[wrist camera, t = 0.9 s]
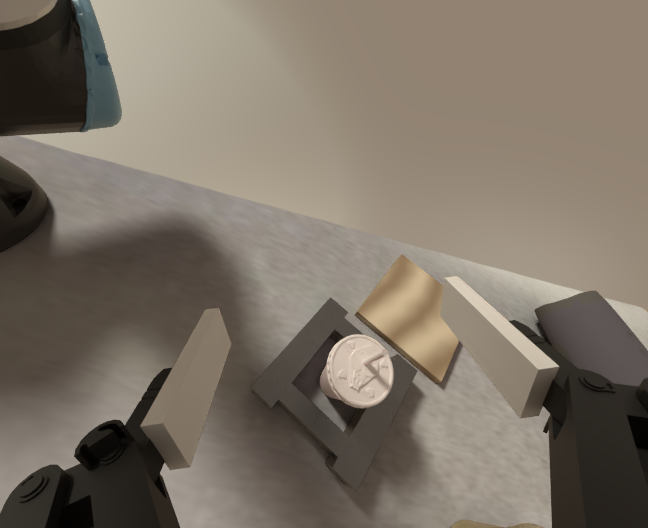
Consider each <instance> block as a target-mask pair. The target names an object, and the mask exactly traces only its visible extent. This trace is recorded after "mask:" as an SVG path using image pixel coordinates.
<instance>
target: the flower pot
mask: <svg viewBox="0 0 648 528" xmlns="http://www.w3.org/2000/svg"><path fill="white" fill-rule="evenodd" d="M451 528H505V527H499V526H494V525H488V524H483V523H478V522H473V521H469V520H461V521H458V522H456V523H455V524H454V525H453V526H452V527H451ZM507 528H544V527H541V526H539V525H535V524H529V523H524V524H519V525H516V526H511V527H507Z"/></svg>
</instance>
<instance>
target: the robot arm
mask: <svg viewBox="0 0 648 528" xmlns="http://www.w3.org/2000/svg"><path fill="white" fill-rule="evenodd" d="M121 116H122V110H121V104H120V99H119V95H118V90H117V86H116V83H115V79H114V75H113V72H112V68H111V65H110V63H109V61H108V55H107V52H106V49H105V44H104V41H103V37H102V34H101V31H100V28H99V25H98V22H97V19H96V16H95V13H94V10H93V8H92V5H91V2H90V0H0V136H14V135H30V134H47V133H65V132H86V131H88V130H91V129H98V128H106V127H112V126H114V125H116V124H118V123H119V121H120V119H121ZM46 210H47V197H46V194H45V192H44V191H43V189H42V188H41V187H40V186H39V185H38V184H37V183H36V181H35V180H34V179H33V178H32V177H31V176H30V175H29V174H28V173H27V172H25V171H24V170H23V169H21V168H19V167H18V166H16V165H14V164H13V163H11V162H10V161H8V160H6V159H5V158H3V157H1V156H0V251H2V250H5V249H7V248H9V247H10V246H12V245H14V244H16V243H17V242H19V241H20V240H22V239H23V238H25V237H26V236H27V235H29V234H30V233H31V232H32V231H33V230H34V229H35V228H36V227H37V226H38V225H39V223H40V222H41V221H42V219H43V217H44V215H45V213H46ZM440 316H441V318H442V319H443V320H444V322H445V323H446V324H447V325H448V327H449V328H450V329H451V331H452V332H453V333H454V334H455V336H456V337H457V338H458V340H459V341H460V342H461V343H462V345H463V346H464V347H465V348H466V350H467V351H468V352H469V354H470V355H471V356H472V357H473V359H474V360H475V361H476V363H477V364H478V365H479V366H480V368H481V369H482V370H483V372H484V373H485V374H486V375H487V377H488V378H489V379H490V381H491V382H492V383H493V384H494V386H495V387H496V388H497V390H498V391H499V392H500V393H501V395H502V396H503V397H504V398H505V400H506V401H507V402H508V404H509V405H510V406H511V407H512V409H513V410H514V411H515V413H516V414H517V415H518V416H519V418H526V417H533V416H539V414H540V411H541V409H542V407H543V406H544V407H545V408H546V409H547V411H548V412H549V413H550V416H549V418H548V421H547V423H546V425H545V427H544V430H543V432H545V433H547V432H548V429H549V450H550V479H551V508H552V528H648V378H645V379H643V381H642V382H641V384H640V385H639V386H631V385H623V384H615V383H612V382H611V381H610V380H609V379H607V378H605V377H603V376H602V375H600V374H597V373H595V372H592V371H589V370H584V369H578V368H577V367H576V366H574V365H573V364H572V363H571V362H570V361H568V360H567V359H566V358H565V357H564V356H562V355H561V354H560V353H559V352H558V351H556V350H555V349H554V348H553V347H552V346H550V345H549V344H548V343H546V342H545V341H544V340H543V339H542V338H541V337H540V336H538V335H537V334H536V333H535V332H534V331H532V330H531V329H530V328H529V327H528V326H526V325H524V324H522V323H520V322H518V321H516V320H512V321H507V320H506V319H505V318H504V317H503V316H502V315H501V314H500V313H498V312H497V311H496V310H495V309H494V308H493V307H492V306H491V305H489V304H488V303H487V302H486V301H485V300H484V299H483V298H481V297H480V296H479V295H478V294H477V293H476V292H475V291H474V290H472V289H471V288H470V287H469V286H468V285H467V284H466V283H465V282H463V281H462V280H461V279H460V278H459V277H458V276H455V277H447V278H444V286H443V295H442V303H441V311H440ZM230 347H231V341H230V338H229V335H228V333H227V330H226V327H225V324H224V321H223V318H222V315H221V313H220V310H219V308H212V309H205V311H204V313H203V314H202V316H201V318H200V320H199V322H198V323H197V325H196V327H195V329H194V331H193V332H192V334H191V336H190V338H189V340H188V341H187V343H186V345H185V347H184V349H183V350H182V352H181V354H180V356H179V358H178V359H177V361H176V363H175V365H174V366H173V368H167V369H163V370H162V371H161V372H160V373H159V374H158V375H157V376H156V377H155V378H154V379H153V381H152V382H151V384H150V385H149V387H148V389H147V392H145V394H144V395H143V397H142V400H141V401H140V402H139V403H138V405H137V407H136V408H135V410H134V412H133V413H132V415H131V417H130V418H129V420H128V421H127V423H126V425H124V424H123V423H122V422H121V421H120V420H111V421H107V422H105V423H103V424H101V425H99V426H97V427H96V428H94V429H93V430H92V431H90V432H89V433H88V434H87V435H86V436H85V437H84V438H83V439H82V440H81V441H80V443H79V445H78V446H77V448H76V450H75V455H74V457H75V458H76V459H77V460H78V461H79V462H80V463H81V464H79V465H76V466H74V467H72V468H69V469H67V470H65V471H63V470H62V469H61V468H60V467H59V466H58V465H48V466H46V467H43V468H41V469H39V470H37V471H36V472H34V473H32V474H31V475H29V476H28V477H27V478H26V479H25V480H23V481H22V482H21V483H20V484H19V485H18V486H17V487H16V488H15V489H14V490H13V492H12V493H11V494H10V496H9V497H8V499H7V501H6V502H5V504H4V506H3V509H2V511H1V513H0V528H180V526H179V523H178V520H177V517H176V514H175V511H174V509H173V506H172V503H171V500H170V497H169V495H168V492H167V489H166V486H165V483H164V480H163V478H162V476H161V475H160V471H161V469H162V467H163V464H164V462H165V463H166V465H167V466H168V468H169V469H170V470H173V469H180V468H187V467H190V466H191V463H192V460H193V457H194V454H195V451H196V448H197V445H198V442H199V439H200V436H201V433H202V430H203V427H204V424H205V421H206V418H207V415H208V412H209V409H210V406H211V403H212V400H213V398H214V395H215V392H216V389H217V386H218V383H219V380H220V377H221V374H222V371H223V368H224V365H225V362H226V359H227V356H228V353H229V350H230Z"/></svg>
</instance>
